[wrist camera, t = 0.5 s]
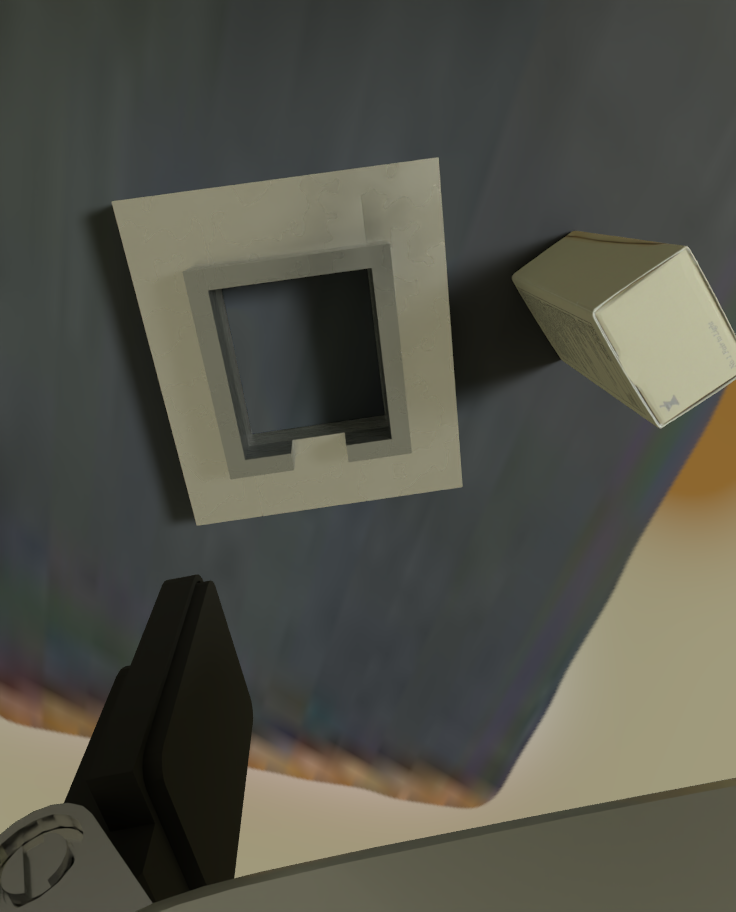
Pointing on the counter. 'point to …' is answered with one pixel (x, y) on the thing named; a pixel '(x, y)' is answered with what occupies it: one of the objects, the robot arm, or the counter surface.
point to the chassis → (288, 257)
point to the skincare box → (632, 320)
